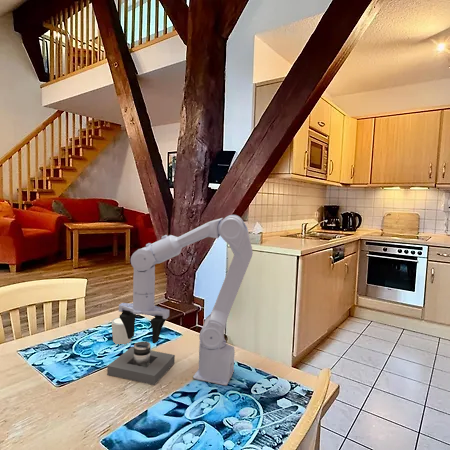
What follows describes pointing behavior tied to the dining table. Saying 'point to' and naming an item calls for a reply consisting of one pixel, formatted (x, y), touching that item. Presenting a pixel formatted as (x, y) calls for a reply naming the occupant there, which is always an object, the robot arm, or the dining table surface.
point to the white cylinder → (119, 332)
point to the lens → (142, 354)
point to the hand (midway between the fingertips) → (143, 339)
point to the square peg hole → (141, 374)
